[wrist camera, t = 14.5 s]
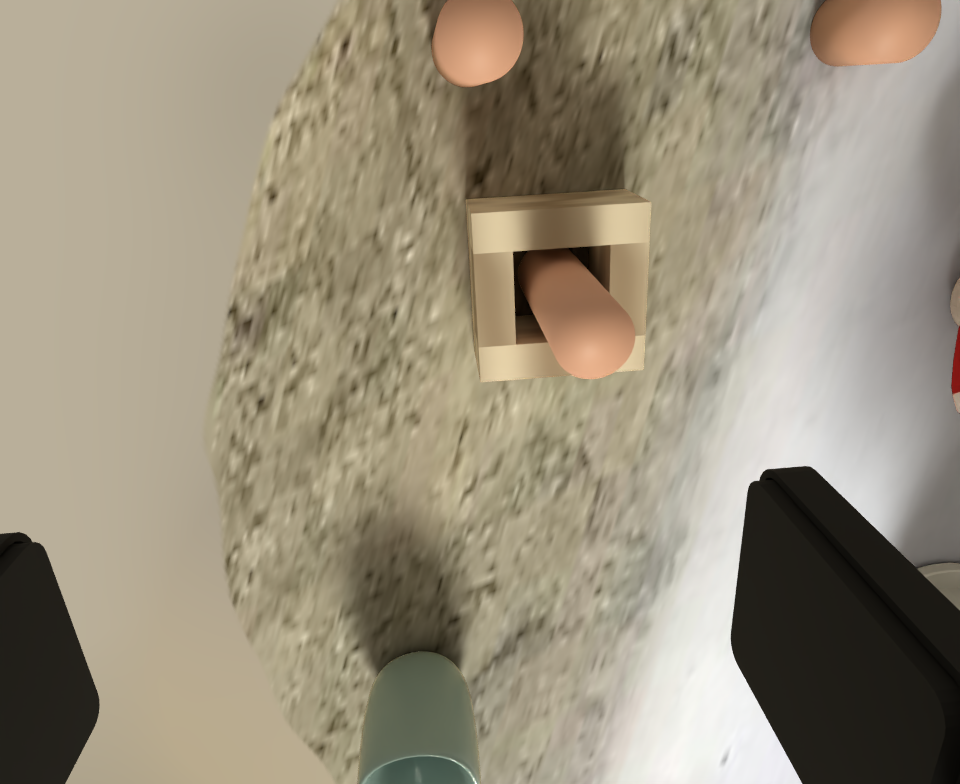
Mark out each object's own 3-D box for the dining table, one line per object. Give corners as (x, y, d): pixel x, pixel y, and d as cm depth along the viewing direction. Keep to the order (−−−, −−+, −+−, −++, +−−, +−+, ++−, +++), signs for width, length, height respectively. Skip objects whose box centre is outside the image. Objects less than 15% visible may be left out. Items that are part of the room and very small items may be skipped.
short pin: (882, -12, 36) (948, -27, 32) (870, 64, 38) (932, 60, 33) (815, -9, 36) (871, -23, 32) (805, 68, 38) (858, 64, 33)
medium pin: (495, 3, 35) (517, -23, 28) (506, 80, 37) (528, 75, 29) (425, 16, 35) (428, -8, 28) (438, 92, 37) (444, 89, 29)
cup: (356, 646, 51) (341, 767, 42) (460, 624, 51) (468, 742, 42) (382, 721, 54) (373, 850, 45) (480, 701, 54) (492, 826, 45)
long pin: (578, 240, 40) (636, 296, 29) (578, 300, 42) (633, 375, 31) (516, 244, 40) (551, 302, 29) (518, 304, 42) (553, 382, 31)
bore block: (624, 188, 39) (651, 201, 35) (620, 340, 43) (643, 369, 38) (465, 199, 39) (471, 213, 34) (474, 350, 43) (480, 382, 38)
